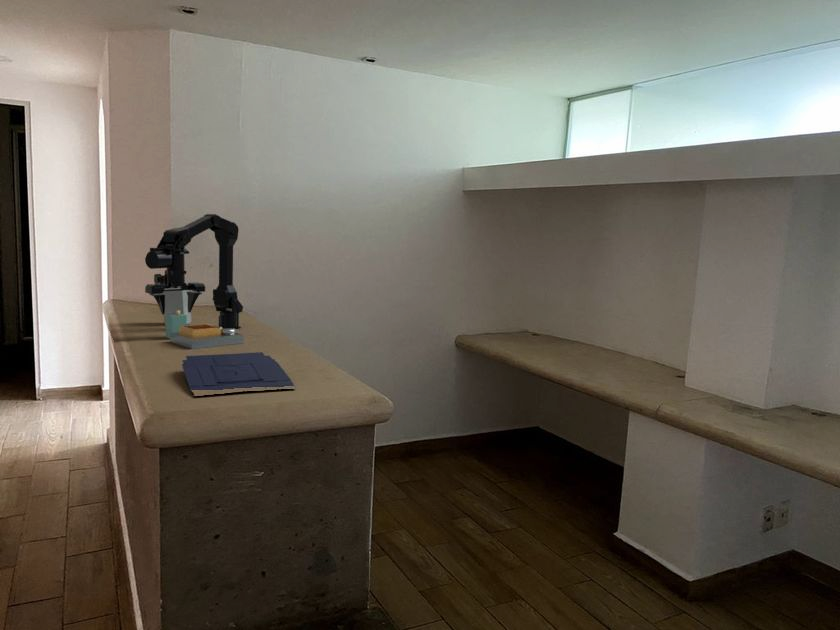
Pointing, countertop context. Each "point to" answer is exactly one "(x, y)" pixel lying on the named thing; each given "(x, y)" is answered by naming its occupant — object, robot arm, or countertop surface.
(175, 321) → the spout can
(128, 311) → the countertop surface
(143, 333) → the countertop surface
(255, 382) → the dark blue book
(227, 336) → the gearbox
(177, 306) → the skincare box
